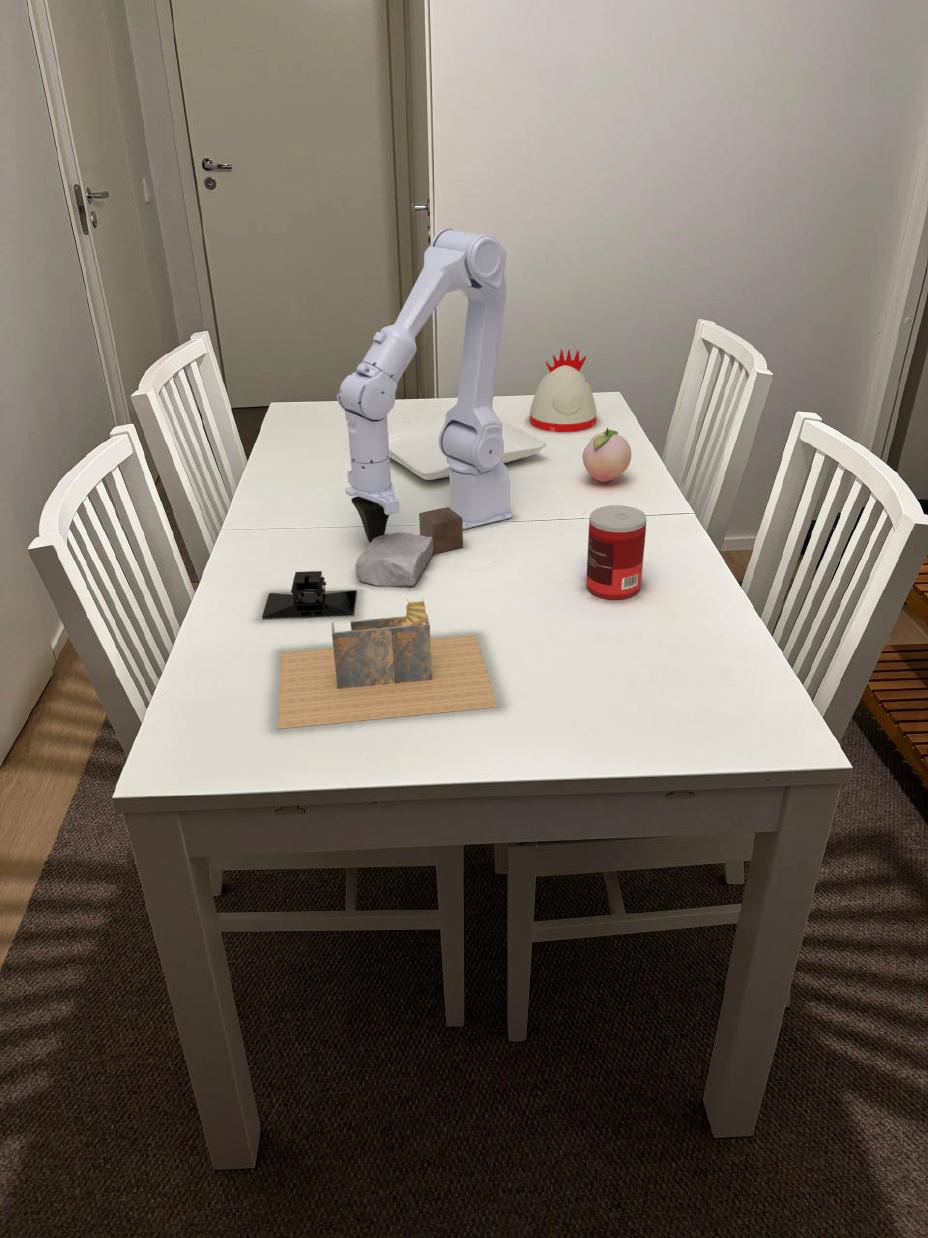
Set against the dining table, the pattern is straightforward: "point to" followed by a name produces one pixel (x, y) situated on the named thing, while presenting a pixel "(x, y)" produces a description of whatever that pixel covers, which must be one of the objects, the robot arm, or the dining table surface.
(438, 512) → the walnut cube
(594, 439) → the decorative fruit
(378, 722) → the dining table surface
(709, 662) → the dining table surface
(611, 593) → the canned food
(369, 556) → the stone block
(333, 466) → the dining table surface
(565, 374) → the kitchen timer
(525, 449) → the square plate
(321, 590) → the build plate
